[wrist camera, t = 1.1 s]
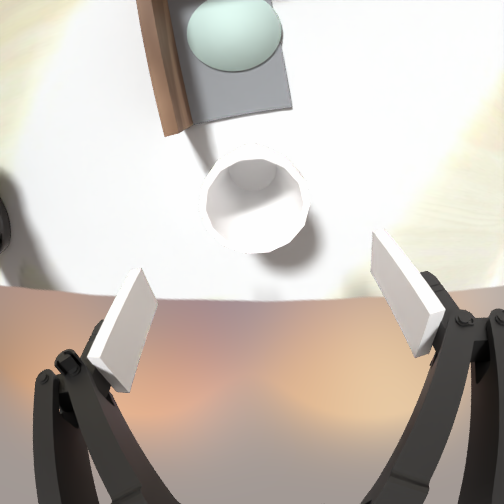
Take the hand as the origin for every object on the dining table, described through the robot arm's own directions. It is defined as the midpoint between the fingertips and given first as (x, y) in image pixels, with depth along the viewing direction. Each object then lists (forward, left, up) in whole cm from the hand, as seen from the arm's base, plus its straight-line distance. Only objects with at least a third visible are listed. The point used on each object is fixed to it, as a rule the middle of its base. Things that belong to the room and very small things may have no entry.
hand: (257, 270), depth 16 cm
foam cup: (0, 0, -23) cm, 23 cm away
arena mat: (0, +18, -23) cm, 29 cm away
